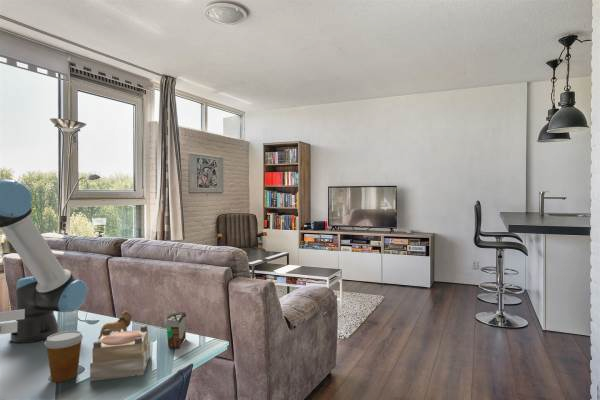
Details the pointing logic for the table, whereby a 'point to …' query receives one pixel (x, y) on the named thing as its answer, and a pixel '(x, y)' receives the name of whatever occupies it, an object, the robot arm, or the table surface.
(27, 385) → the table surface
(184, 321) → the food container
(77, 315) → the table surface
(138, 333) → the wooden crate
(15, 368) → the table surface
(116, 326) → the lion figurine
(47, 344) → the disposable coffee cup
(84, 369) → the table surface
